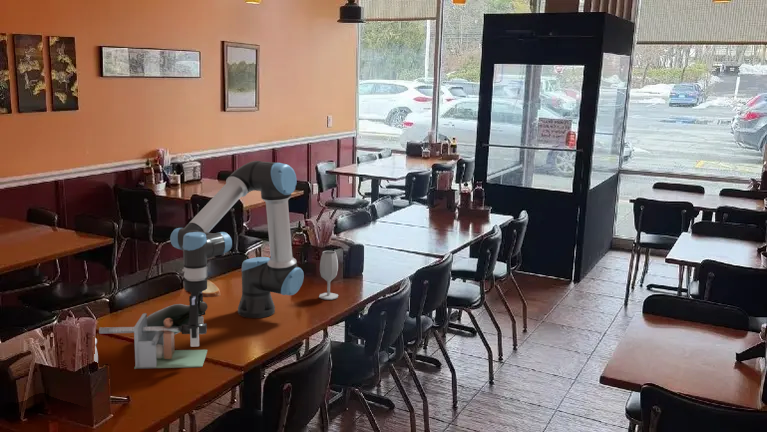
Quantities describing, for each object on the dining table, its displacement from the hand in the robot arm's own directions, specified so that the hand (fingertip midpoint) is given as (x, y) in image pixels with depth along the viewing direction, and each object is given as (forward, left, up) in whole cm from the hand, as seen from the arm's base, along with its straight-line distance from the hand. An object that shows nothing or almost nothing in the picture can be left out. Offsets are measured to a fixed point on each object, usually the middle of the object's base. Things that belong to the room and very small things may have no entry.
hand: (197, 339), depth 235 cm
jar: (+33, +20, -7) cm, 39 cm away
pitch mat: (+9, 0, -7) cm, 11 cm away
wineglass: (-48, -67, -7) cm, 83 cm away
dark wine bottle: (+18, -20, -2) cm, 27 cm away
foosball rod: (+14, 0, -5) cm, 15 cm away
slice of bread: (+7, -80, -8) cm, 80 cm away
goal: (+16, 0, -7) cm, 17 cm away
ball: (+13, 0, -4) cm, 14 cm away
